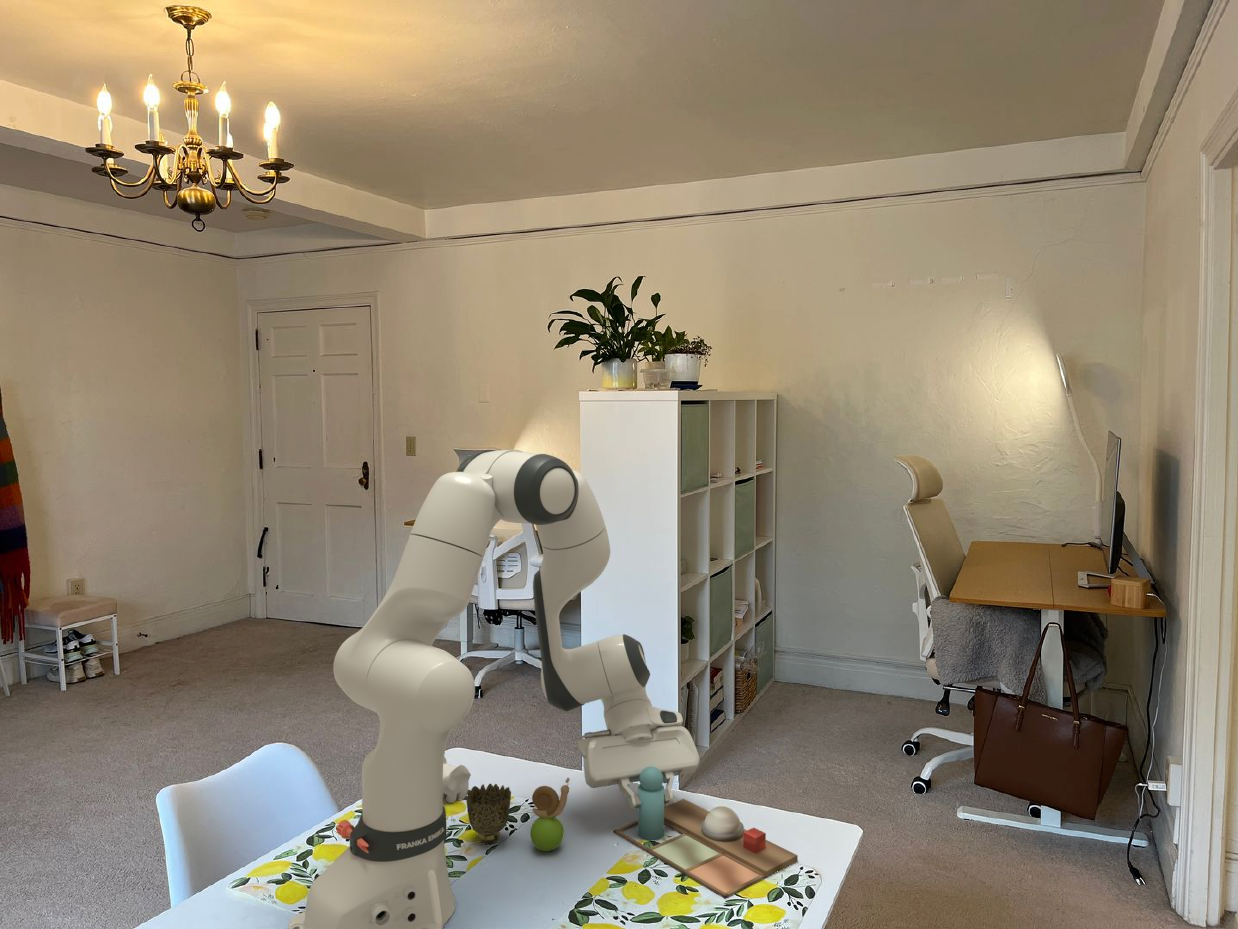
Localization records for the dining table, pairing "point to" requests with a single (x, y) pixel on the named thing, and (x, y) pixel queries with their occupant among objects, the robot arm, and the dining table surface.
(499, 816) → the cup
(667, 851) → the game board
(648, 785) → the pawn
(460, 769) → the elephant figurine
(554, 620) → the robot arm
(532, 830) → the snail figurine
